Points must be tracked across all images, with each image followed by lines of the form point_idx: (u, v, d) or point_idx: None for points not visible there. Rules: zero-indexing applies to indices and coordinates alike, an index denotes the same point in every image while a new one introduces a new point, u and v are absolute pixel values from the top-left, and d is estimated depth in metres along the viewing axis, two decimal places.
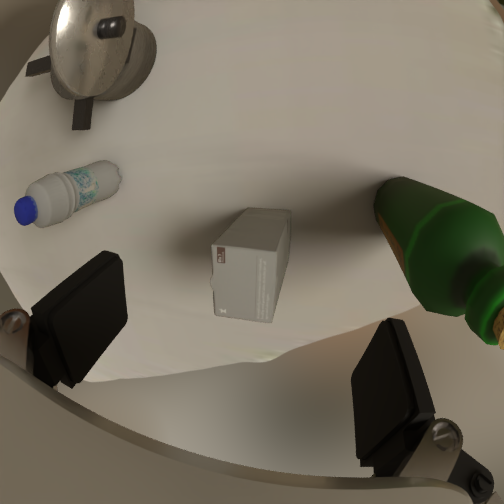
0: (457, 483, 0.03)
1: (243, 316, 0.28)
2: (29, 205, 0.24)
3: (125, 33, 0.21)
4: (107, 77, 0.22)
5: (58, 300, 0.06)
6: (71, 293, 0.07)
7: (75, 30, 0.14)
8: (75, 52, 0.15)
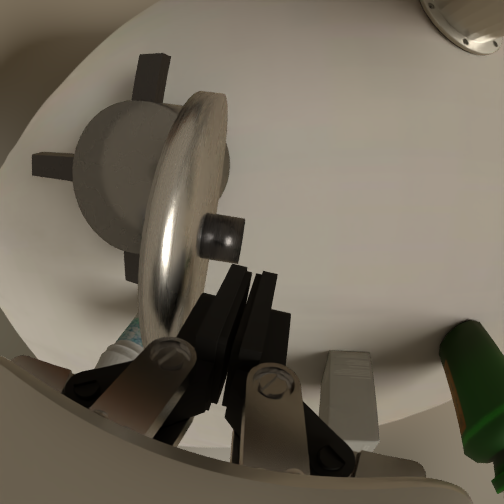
0: None
1: None
2: None
3: (217, 194, 0.19)
4: (203, 282, 0.20)
5: (224, 322, 0.07)
6: (230, 313, 0.07)
7: (183, 311, 0.11)
8: None
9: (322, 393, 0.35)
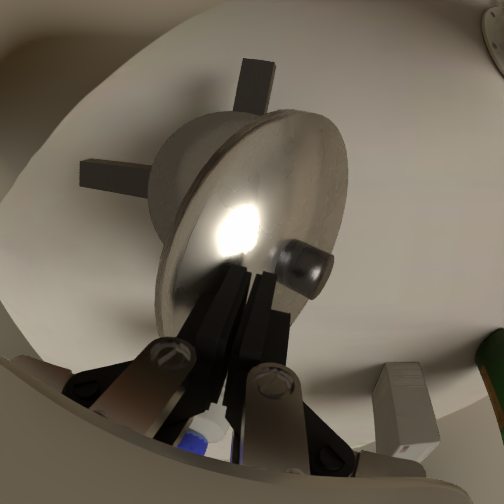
0: None
1: None
2: (202, 447, 0.21)
3: (330, 227, 0.18)
4: (293, 312, 0.19)
5: (224, 322, 0.07)
6: (230, 313, 0.07)
7: None
8: None
9: (379, 403, 0.34)
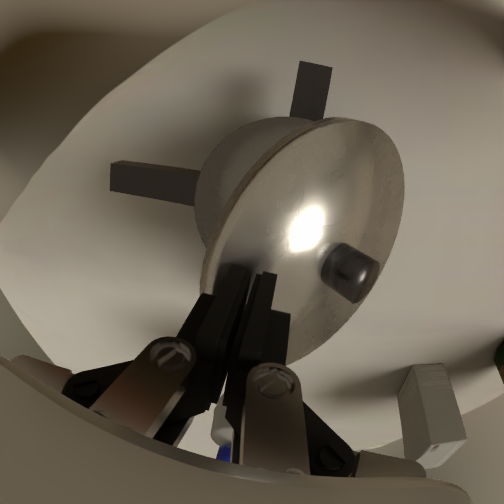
0: None
1: (425, 468, 0.24)
2: None
3: (384, 238, 0.17)
4: (340, 318, 0.18)
5: (224, 322, 0.07)
6: (229, 312, 0.07)
7: None
8: None
9: (407, 404, 0.33)
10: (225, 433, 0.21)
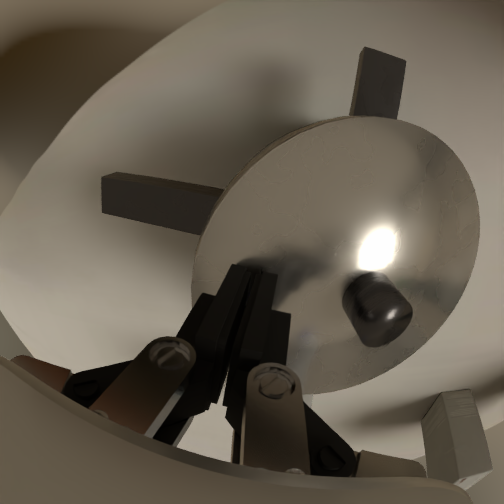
0: None
1: None
2: None
3: (447, 282, 0.12)
4: (376, 365, 0.14)
5: (223, 322, 0.07)
6: (229, 312, 0.07)
7: None
8: None
9: (433, 433, 0.27)
10: None
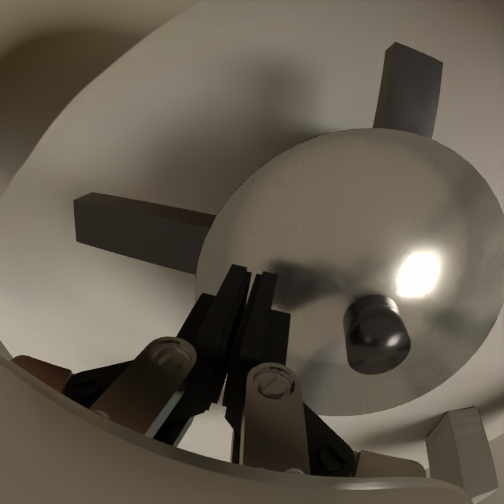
0: None
1: None
2: None
3: (469, 320, 0.10)
4: (382, 397, 0.12)
5: (224, 322, 0.07)
6: (229, 313, 0.07)
7: None
8: None
9: (438, 453, 0.24)
10: None
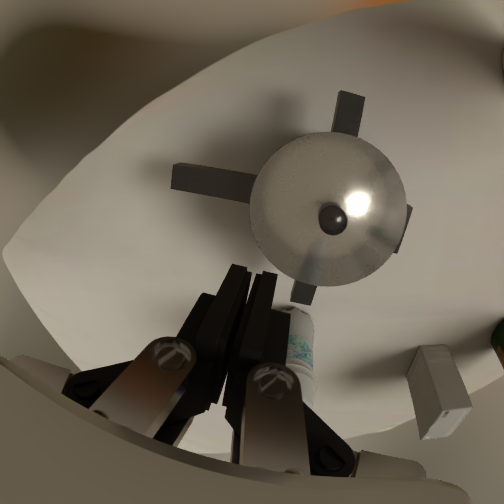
0: None
1: (437, 436, 0.29)
2: None
3: (386, 220, 0.23)
4: (347, 271, 0.26)
5: (224, 322, 0.07)
6: (230, 313, 0.07)
7: (276, 216, 0.25)
8: (281, 239, 0.26)
9: (417, 381, 0.38)
10: None
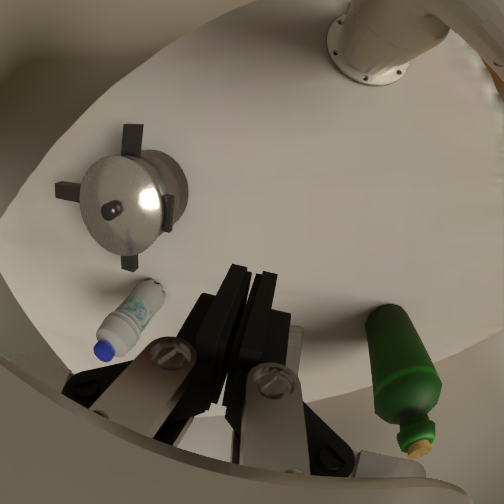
0: None
1: None
2: (109, 350, 0.36)
3: (146, 208, 0.35)
4: (133, 245, 0.37)
5: (224, 322, 0.07)
6: (229, 313, 0.07)
7: (91, 211, 0.36)
8: (96, 225, 0.37)
9: None
10: (100, 333, 0.38)
